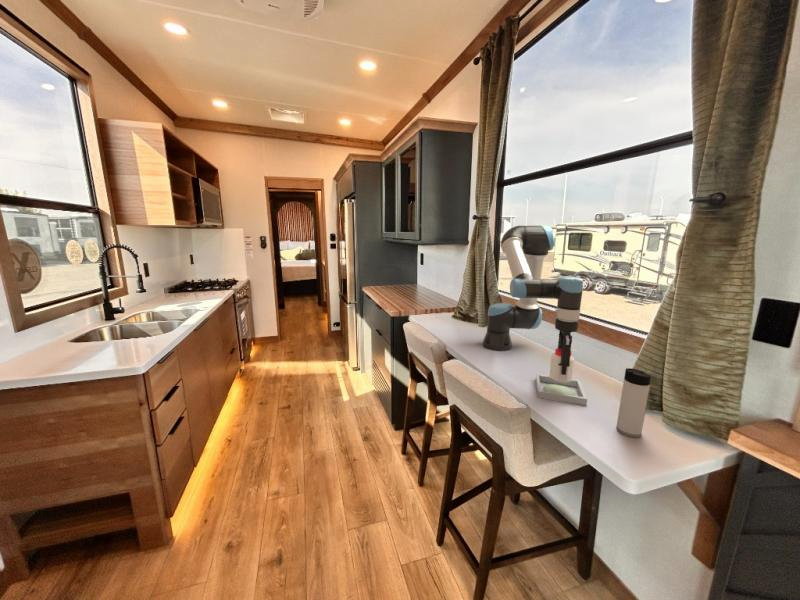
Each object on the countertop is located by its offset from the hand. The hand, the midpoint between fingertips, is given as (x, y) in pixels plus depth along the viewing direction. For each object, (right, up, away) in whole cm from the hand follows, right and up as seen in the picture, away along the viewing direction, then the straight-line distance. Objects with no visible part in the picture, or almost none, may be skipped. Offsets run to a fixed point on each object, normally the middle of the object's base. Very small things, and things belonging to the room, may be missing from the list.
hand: (560, 377), depth 121 cm
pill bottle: (0, 0, 0) cm, 0 cm away
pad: (0, -6, +1) cm, 6 cm away
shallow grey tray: (0, -6, +1) cm, 6 cm away
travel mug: (+9, -11, -24) cm, 28 cm away
